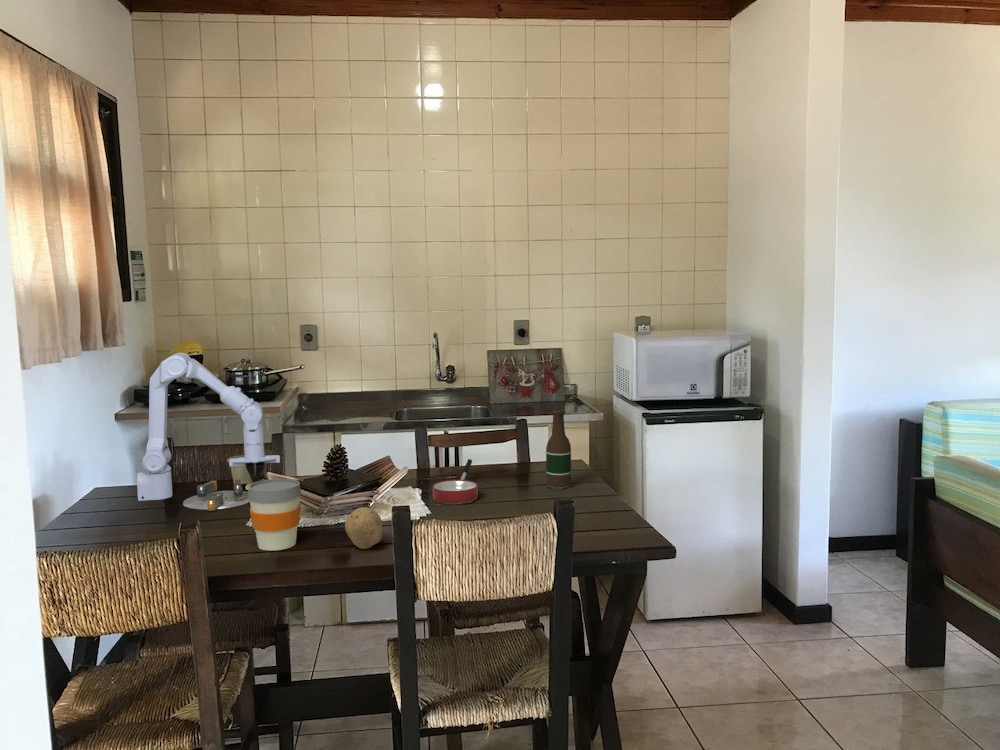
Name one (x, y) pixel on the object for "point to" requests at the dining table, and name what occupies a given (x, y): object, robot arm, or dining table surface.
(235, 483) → the knob right
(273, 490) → the reusable coffee cup
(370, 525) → the potato
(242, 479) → the flower pot
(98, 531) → the dining table surface
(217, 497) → the knob front
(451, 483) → the frying pan
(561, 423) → the beer bottle
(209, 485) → the knob left
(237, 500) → the plate
